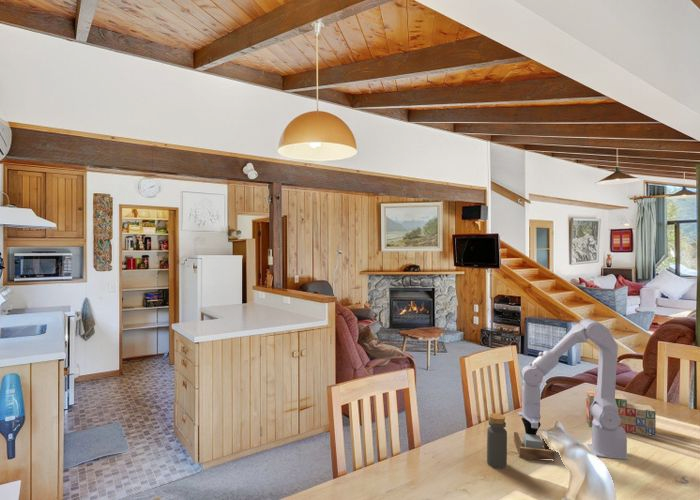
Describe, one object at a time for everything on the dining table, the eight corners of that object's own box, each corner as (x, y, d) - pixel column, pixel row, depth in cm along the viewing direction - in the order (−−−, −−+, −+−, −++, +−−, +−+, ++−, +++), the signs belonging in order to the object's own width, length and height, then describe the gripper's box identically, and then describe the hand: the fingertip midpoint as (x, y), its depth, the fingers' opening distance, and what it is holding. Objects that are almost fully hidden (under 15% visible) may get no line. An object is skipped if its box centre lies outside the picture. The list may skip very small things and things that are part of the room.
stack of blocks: (650, 430, 157) (651, 397, 157) (655, 436, 151) (656, 403, 151) (586, 420, 165) (586, 389, 165) (588, 426, 159) (589, 394, 159)
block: (538, 447, 142) (539, 435, 142) (542, 453, 137) (542, 441, 137) (523, 445, 143) (523, 433, 143) (525, 452, 138) (526, 440, 138)
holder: (545, 444, 144) (545, 434, 144) (554, 461, 132) (555, 451, 132) (513, 440, 146) (514, 431, 146) (519, 457, 134) (520, 447, 134)
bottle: (497, 470, 126) (497, 421, 126) (482, 461, 131) (483, 414, 131) (510, 466, 129) (511, 417, 129) (496, 457, 134) (496, 411, 134)
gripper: (515, 393, 152) (514, 430, 152) (522, 408, 138) (521, 449, 138) (536, 395, 150) (535, 432, 150) (545, 410, 136) (544, 451, 136)
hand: (530, 440), depth 144 cm, fingers closed
